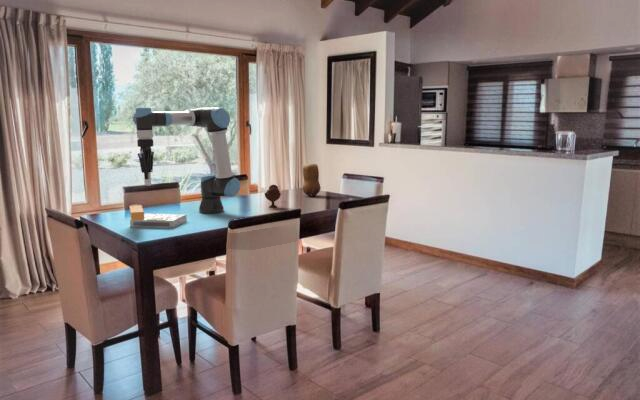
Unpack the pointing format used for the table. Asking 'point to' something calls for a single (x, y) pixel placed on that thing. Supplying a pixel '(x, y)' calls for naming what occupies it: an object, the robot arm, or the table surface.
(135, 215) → the long orange block
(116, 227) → the table surface
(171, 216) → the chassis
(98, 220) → the table surface
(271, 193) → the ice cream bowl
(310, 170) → the butternut squash
